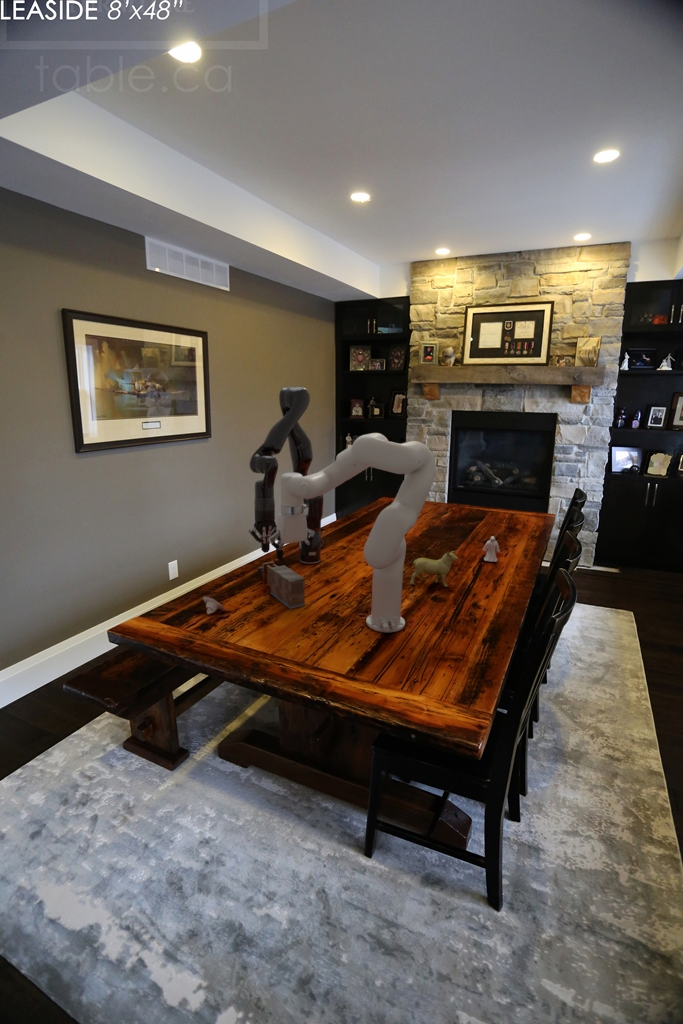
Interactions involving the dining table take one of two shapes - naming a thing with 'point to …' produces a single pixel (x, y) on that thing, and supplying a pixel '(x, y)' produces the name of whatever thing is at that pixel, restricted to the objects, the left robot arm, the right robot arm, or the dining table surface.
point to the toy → (434, 567)
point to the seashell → (212, 605)
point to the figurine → (491, 550)
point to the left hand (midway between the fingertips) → (265, 551)
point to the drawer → (267, 572)
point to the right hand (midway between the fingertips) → (292, 557)
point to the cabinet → (287, 586)
